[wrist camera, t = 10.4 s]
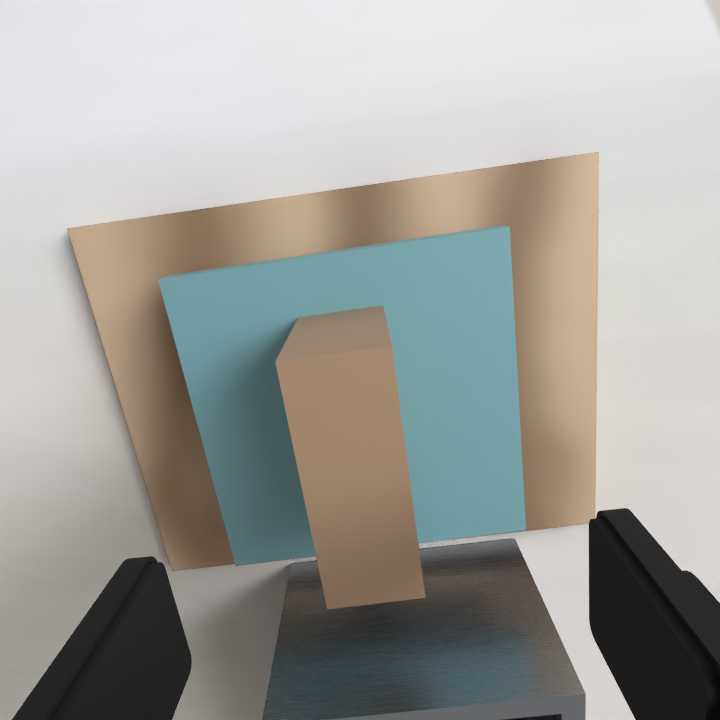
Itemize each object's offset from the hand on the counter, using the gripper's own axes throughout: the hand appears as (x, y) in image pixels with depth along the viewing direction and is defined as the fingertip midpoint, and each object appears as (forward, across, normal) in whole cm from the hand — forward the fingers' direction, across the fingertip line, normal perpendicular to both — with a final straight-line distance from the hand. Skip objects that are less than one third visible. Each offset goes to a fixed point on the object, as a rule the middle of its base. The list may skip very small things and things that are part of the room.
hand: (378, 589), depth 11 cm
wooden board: (+12, +1, -1) cm, 12 cm away
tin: (+12, 0, +14) cm, 18 cm away
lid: (+11, +1, -1) cm, 11 cm away
